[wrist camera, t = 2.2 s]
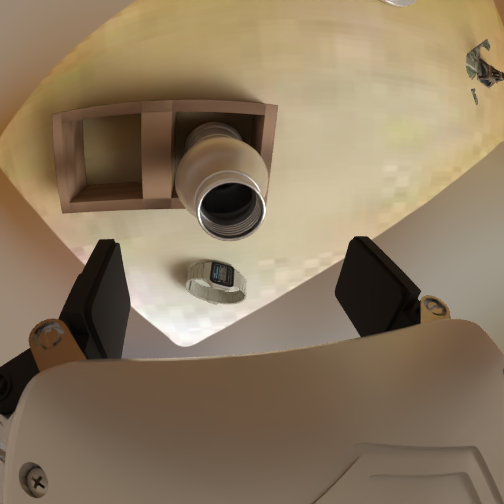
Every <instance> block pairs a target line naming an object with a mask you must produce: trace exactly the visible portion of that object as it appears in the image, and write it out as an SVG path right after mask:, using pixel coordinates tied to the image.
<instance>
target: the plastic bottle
mask: <svg viewBox="0 0 504 504" xmlns="http://www.w3.org/2000/svg"><path fill="white" fill-rule="evenodd" d="M184 154H185V155H184V156H183V158H182V159H181V161H180V163H179V165H178V167H177V171H176V175H175V187H176V192H177V195H178V197H179V199H180V201H181V202H182V204H183V205H184V207H185V208H186V209H187V210H188V211H189V212H190V213H191V214H192V215H193V216H195V217H196V218H197V219H198V222H199V224H200V226H201V227H202V228H203V230H204V231H205V232H206V233H207V234H209V235H210V236H212V237H214V238H216V239H219V240H223V241H236V240H240V239H244V238H246V237H248V236H250V235H251V234H253V233H254V232H255V231H256V230H257V229H258V228H259V227H260V225H261V224H262V222H263V220H264V217H265V212H266V208H265V201H264V197H265V194H266V191H267V185H268V172H267V169H266V165H265V163H264V161H263V159H262V157H261V156H260V155H259V154H258V152H257V151H256V150H255V149H253V148H252V147H251V146H250V145H248V144H246V143H244V142H243V140H242V137H241V136H240V134H239V133H238V132H237V131H236V130H235V129H234V128H233V127H231V126H230V125H227V124H225V123H221V122H208V123H205V124H202V125H200V126H198V127H197V128H195V129H194V130H193V131H192V132H191V133H190V134H189V136H188V138H187V139H186V142H185V146H184Z"/></svg>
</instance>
